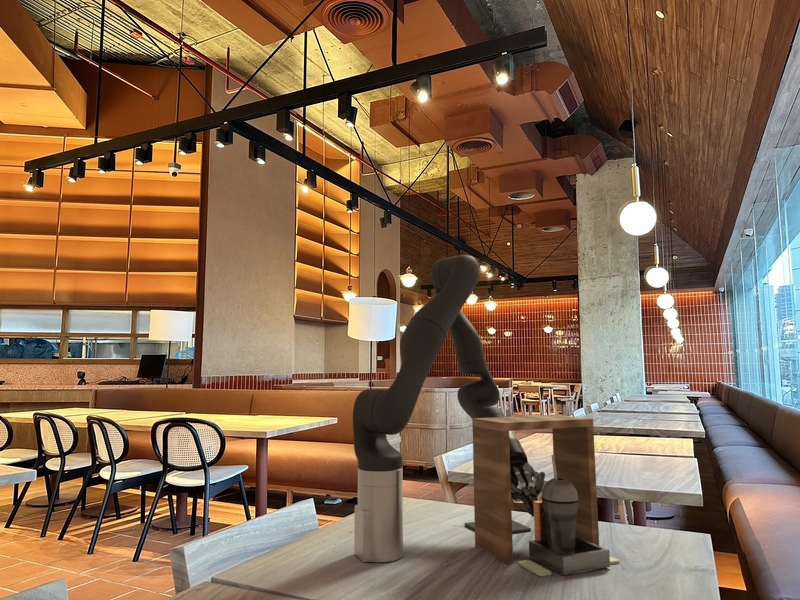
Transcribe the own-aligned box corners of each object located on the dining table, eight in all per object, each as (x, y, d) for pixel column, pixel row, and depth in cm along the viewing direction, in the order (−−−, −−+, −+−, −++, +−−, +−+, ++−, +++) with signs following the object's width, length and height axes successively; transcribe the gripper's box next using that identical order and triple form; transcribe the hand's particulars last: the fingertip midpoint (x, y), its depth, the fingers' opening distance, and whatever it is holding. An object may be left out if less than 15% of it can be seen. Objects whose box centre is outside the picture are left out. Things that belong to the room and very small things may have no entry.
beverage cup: (585, 566, 105) (582, 458, 107) (547, 566, 105) (544, 458, 107) (575, 553, 112) (572, 452, 114) (539, 552, 112) (536, 452, 114)
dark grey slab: (486, 537, 123) (486, 534, 124) (464, 525, 133) (464, 523, 133) (531, 531, 128) (531, 528, 128) (507, 520, 137) (507, 517, 137)
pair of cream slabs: (540, 576, 100) (540, 573, 100) (518, 564, 106) (518, 561, 106) (619, 562, 106) (619, 560, 106) (594, 552, 113) (594, 549, 113)
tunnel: (506, 563, 106) (501, 423, 110) (475, 545, 117) (472, 418, 121) (599, 549, 115) (592, 418, 118) (562, 533, 126) (557, 414, 129)
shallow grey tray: (563, 574, 100) (561, 517, 101) (523, 553, 111) (521, 502, 112) (610, 566, 103) (607, 511, 105) (566, 547, 115) (564, 497, 116)
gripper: (484, 438, 124) (517, 507, 112) (534, 435, 129) (570, 501, 116) (473, 459, 129) (503, 527, 116) (522, 455, 133) (555, 521, 121)
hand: (537, 514), depth 116 cm, fingers closed
